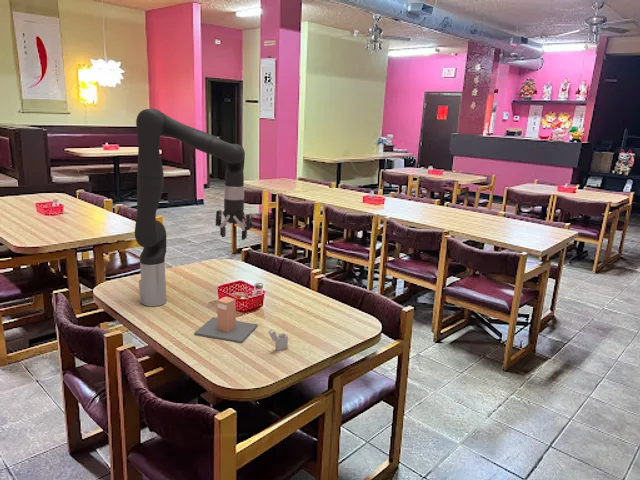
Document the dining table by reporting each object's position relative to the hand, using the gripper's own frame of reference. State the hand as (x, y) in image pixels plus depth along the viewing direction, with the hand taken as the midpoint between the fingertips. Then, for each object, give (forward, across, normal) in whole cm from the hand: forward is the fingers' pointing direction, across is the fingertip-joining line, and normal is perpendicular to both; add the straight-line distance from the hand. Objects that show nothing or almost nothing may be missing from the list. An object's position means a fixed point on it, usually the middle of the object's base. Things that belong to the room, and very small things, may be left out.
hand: (233, 238), depth 189 cm
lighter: (+27, +30, -30) cm, 51 cm away
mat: (+28, +8, -23) cm, 37 cm away
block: (+27, +8, -23) cm, 36 cm away
